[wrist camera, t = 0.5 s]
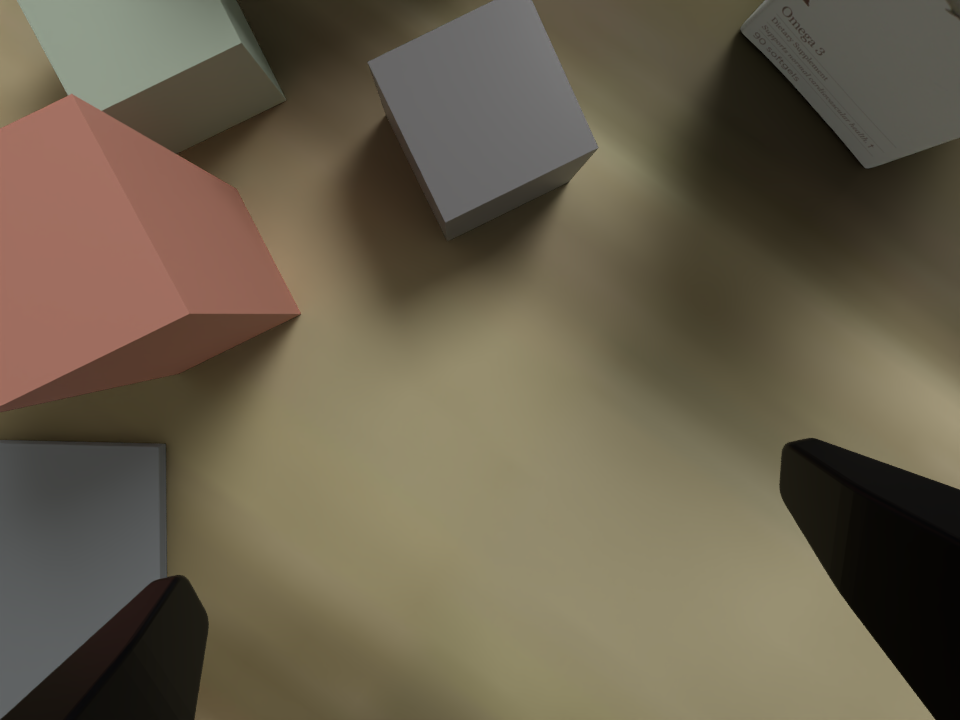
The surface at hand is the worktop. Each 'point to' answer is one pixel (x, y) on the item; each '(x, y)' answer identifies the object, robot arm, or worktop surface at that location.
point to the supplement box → (870, 68)
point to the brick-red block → (119, 259)
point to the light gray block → (483, 113)
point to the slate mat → (72, 547)
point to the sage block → (158, 63)
